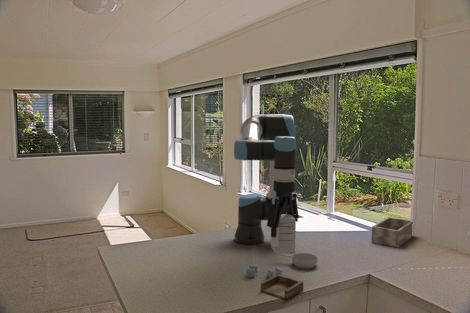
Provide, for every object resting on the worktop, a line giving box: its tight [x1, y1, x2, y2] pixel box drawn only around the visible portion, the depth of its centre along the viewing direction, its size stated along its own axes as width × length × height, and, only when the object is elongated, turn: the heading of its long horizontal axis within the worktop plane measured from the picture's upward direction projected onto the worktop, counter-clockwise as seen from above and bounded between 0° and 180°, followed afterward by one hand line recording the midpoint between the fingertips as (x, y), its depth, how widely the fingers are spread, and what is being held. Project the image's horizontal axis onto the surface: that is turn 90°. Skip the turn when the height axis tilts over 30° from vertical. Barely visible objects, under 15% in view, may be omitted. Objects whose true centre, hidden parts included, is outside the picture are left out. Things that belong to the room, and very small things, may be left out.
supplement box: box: [270, 214, 297, 255], centre depth 148 cm, size 7×7×13 cm
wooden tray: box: [260, 274, 304, 301], centre depth 149 cm, size 11×11×3 cm
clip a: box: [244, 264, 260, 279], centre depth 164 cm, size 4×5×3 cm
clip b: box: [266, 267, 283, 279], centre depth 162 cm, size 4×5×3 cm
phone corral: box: [371, 216, 413, 248], centre depth 214 cm, size 13×25×8 cm, turn 141°
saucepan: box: [275, 252, 319, 270], centre depth 177 cm, size 11×18×4 cm, turn 71°
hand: (282, 242), depth 148 cm, fingers closed on supplement box, 10 cm apart
